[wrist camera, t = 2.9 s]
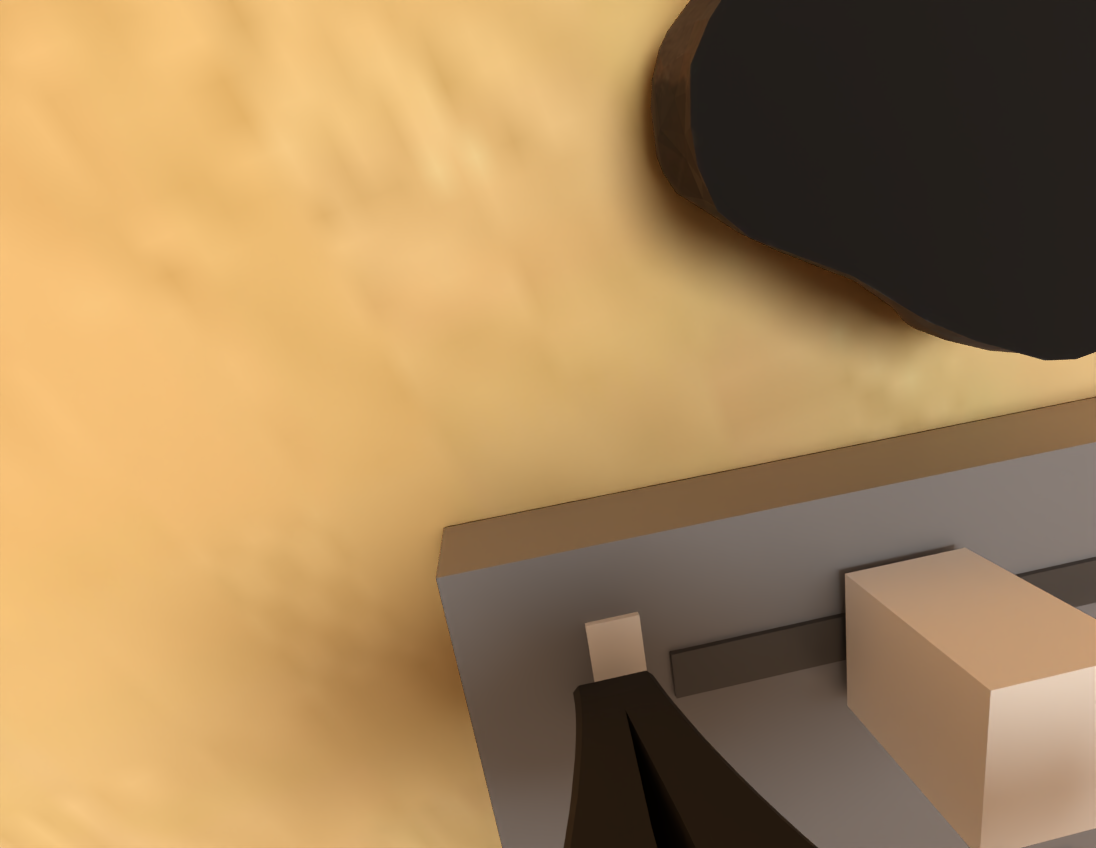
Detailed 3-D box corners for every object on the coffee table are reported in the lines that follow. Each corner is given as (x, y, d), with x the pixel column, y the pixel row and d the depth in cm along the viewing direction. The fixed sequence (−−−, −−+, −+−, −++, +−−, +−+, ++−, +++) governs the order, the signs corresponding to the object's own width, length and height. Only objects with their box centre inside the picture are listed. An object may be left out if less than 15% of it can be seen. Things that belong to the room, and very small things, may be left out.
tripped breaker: (958, 679, 11) (1127, 819, 8) (847, 705, 11) (979, 858, 8) (964, 547, 10) (1155, 651, 7) (844, 573, 10) (991, 690, 7)
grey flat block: (1111, 837, 16) (1201, 916, 14) (551, 984, 15) (562, 1093, 13) (1180, 380, 12) (1316, 398, 10) (444, 527, 11) (435, 581, 9)
